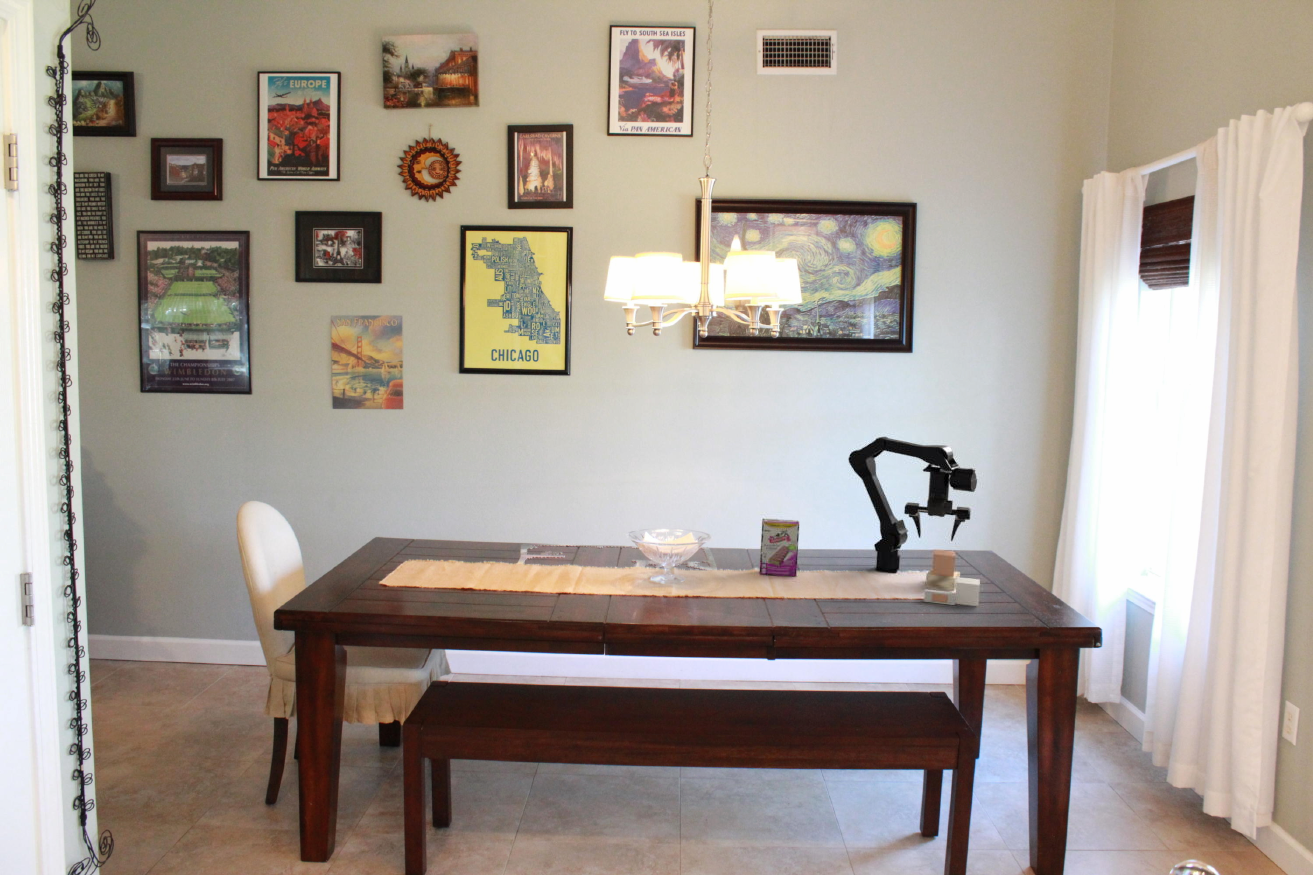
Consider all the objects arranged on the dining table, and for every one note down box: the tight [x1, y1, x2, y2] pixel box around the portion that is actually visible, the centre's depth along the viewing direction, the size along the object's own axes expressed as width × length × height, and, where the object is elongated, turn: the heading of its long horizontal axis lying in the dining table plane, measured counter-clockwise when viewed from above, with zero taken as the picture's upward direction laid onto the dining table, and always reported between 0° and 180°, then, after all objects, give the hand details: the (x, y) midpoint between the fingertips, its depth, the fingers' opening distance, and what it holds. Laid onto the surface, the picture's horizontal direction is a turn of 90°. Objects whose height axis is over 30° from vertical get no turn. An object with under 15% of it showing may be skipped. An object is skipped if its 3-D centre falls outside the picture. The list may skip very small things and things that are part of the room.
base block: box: [925, 568, 961, 591], centre depth 265 cm, size 8×8×4 cm
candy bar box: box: [759, 518, 800, 577], centre depth 272 cm, size 11×5×16 cm, turn 84°
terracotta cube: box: [931, 549, 956, 577], centre depth 265 cm, size 6×6×6 cm
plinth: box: [923, 588, 956, 606], centre depth 247 cm, size 8×2×3 cm, turn 70°
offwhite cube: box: [955, 576, 981, 607], centre depth 249 cm, size 6×6×6 cm
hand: (935, 539), depth 272 cm, fingers open, 9 cm apart
